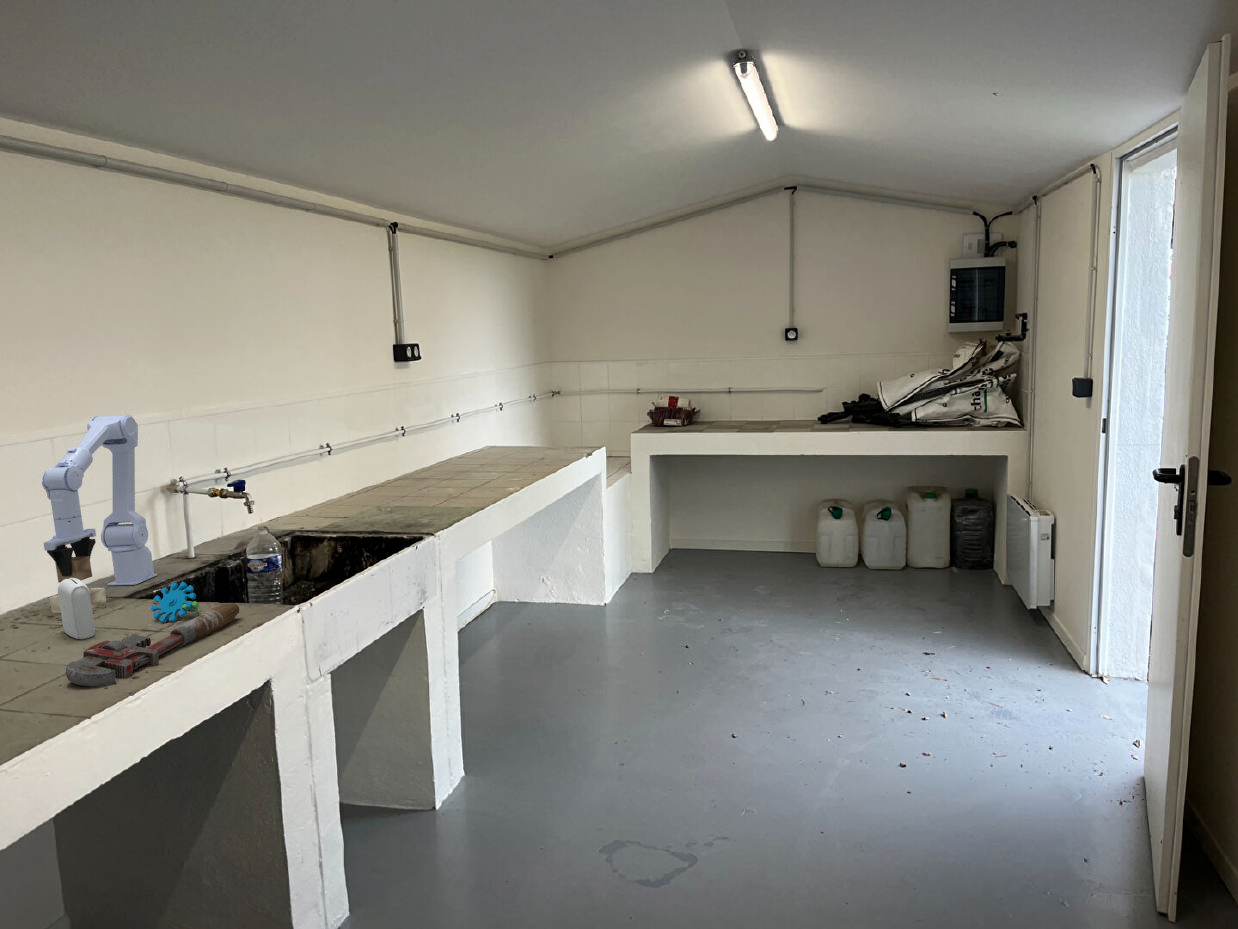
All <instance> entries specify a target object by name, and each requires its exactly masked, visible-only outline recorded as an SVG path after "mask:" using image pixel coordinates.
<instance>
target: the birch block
mask: <svg viewBox="0 0 1238 929" xmlns="http://www.w3.org/2000/svg"><path fill="white" fill-rule="evenodd" d="M88 589H89V592H90V599H91V606H92V609H94V608H97V607H99V606H102V605H104V604H106V603H107V598H106V597H107V596H106V589H105V588H104V587H88ZM49 603H50V609H51V613H52V614H61V610H60V603H59V596H58V594H56V595H53V596H51V597H49Z"/></svg>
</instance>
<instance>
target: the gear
mask: <svg viewBox="0 0 1238 929" xmlns="http://www.w3.org/2000/svg"><path fill="white" fill-rule="evenodd" d="M194 590H195V589H194V586H192V585H191V584H190V585H188V584H187V583H186V582H185V581H181V582H180V584H179V585H178V583H176V582H171V584H170V589H168V588H167V587H164V588H161V589H160V592H161V593H162V594H163V595H162V596H163V597H160V596H159V595H158V594H157V595H156V596H155V597H153V601H154V602H155V603H159V606H157V605H156V604H152V605H151V607H150V611H151V612H153V613H152V616H153V618H154V619H155V620H158V619H159V621H160V622H162V623H163V624H165V623H166V622H167V620H168V621H170V622H172V623H174V622H176V621H177V615H179V616H180V617H181V618H184V617H185V616H186V615H187V612H188V613H195V614H197V615H198V616H199V614H202V612H201V611H200V610H199V609H198V608H199V607H200V604H199V603H198V602H197V601H196V600H195V599H196V597H197V594H196V593H194ZM187 593H188V594H187ZM187 599H191V600H194V601H192V602H191V601H187ZM157 611H160V612H157Z"/></svg>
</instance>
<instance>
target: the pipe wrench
mask: <svg viewBox="0 0 1238 929" xmlns="http://www.w3.org/2000/svg"><path fill="white" fill-rule="evenodd" d="M239 613H240V606H239V605H238V604H237V603H235V602H229V603H228V602H227V603H223V604H220V605H216V606H215V607H213V608H210V609H209V610H206V611H205V612H203V613H201V615H198V616H195V617H194V618H193V619H191V620H188V621H187V622H185V623H183V624H182V625H180V626H178V627H176V628H174V629H173V630H171V632H170V634H169V635H168V636H166V637H164V638H162V639H160V640H158V641H156V642H154V643H153V644H151V643H152V639H151V637H149V636H143V635H139V634H133V633H132V634H131V635H130V636H129V635H128V636H127V637H126V638H122V639H121V640H107V639H106V640H103V641H100V642H99V643H95V644H93V645H91V646H89V647H88V648H86V649H85V650H83V656H82V657H83V658H81V659H78V660H76V661H75V660H73V661H70V662H69V663H68V664H67V666H66V668H65V676H66V678H67V680H68V681H69V682H70V683H71V684H75V685H78V686H83V687H103V686H107V685H110V684H113V683H116V681H117V680H116V678H122V679H123V678H124V679H125V678H128V677H130V676H132V674H133V671H134V670H136V669H138V668H140V667H141V666H155V665H158V664H159V658H160V657H159V656H161V655H163V654H164V653H166V652H168V651H170V650H172V649H173V648H175V647H183V646H186V645H187V644H190V643H191V642H193V641H196V640H197V639H200V638H202V637H204V636H207V635H209V634H210V633H212V632H215V631H217V630H219V629H221V628H223V627H225V626H227V625H228V624H229V623H231V622H232V621H234V619H235V618H236V617H237V616H238V614H239Z"/></svg>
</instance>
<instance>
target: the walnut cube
mask: <svg viewBox="0 0 1238 929" xmlns="http://www.w3.org/2000/svg"><path fill="white" fill-rule="evenodd" d="M54 564H55V570H56V575H57V583H59V584H60V583H61V582H62V581H63V580H65V579H69V578H76V579H79V580H81V581H82V582H83V581H84V580H86V579H90V578H92V577H93V572H92V566H91V556H90V557H89V556H82V557H76V556H72V576H62V574H61V572H60V570H59V568H58V566H57V564H56V563H55V562H54Z"/></svg>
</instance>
